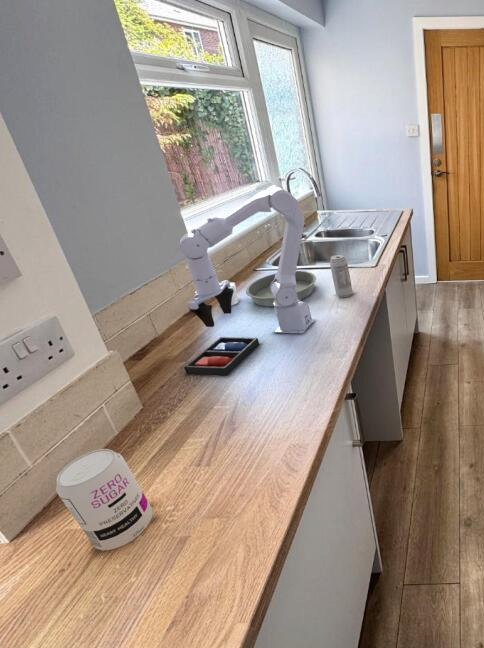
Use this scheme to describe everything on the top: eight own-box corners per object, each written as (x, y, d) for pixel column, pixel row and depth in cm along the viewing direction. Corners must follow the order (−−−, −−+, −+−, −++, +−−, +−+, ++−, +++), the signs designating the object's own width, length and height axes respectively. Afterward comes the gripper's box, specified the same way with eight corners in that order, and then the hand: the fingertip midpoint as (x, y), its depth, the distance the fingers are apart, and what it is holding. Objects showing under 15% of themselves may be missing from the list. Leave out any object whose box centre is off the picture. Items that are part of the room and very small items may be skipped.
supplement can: (117, 509, 73) (79, 448, 66) (164, 504, 73) (131, 443, 67) (82, 555, 65) (35, 492, 59) (135, 549, 66) (94, 486, 59)
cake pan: (241, 313, 140) (237, 302, 138) (257, 285, 162) (254, 275, 160) (315, 303, 145) (312, 291, 143) (320, 277, 167) (318, 267, 165)
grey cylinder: (350, 289, 154) (343, 252, 148) (355, 295, 149) (348, 257, 143) (334, 293, 151) (326, 256, 145) (338, 299, 147) (331, 261, 140)
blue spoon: (250, 346, 119) (248, 340, 118) (243, 353, 116) (241, 346, 115) (221, 346, 120) (219, 339, 119) (213, 352, 117) (211, 345, 116)
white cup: (231, 307, 145) (225, 290, 142) (215, 306, 146) (209, 289, 143) (244, 299, 151) (239, 282, 148) (228, 298, 152) (223, 281, 149)
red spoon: (234, 361, 112) (232, 354, 111) (227, 368, 109) (224, 361, 108) (204, 360, 114) (201, 353, 113) (196, 367, 111) (193, 360, 110)
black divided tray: (259, 344, 121) (257, 337, 120) (227, 375, 108) (224, 368, 106) (223, 343, 122) (220, 336, 121) (186, 374, 109) (183, 366, 108)
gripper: (208, 266, 118) (222, 307, 124) (170, 287, 105) (188, 332, 111) (231, 266, 117) (244, 307, 123) (195, 288, 104) (212, 333, 110)
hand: (219, 319), depth 117 cm, fingers open, 7 cm apart
